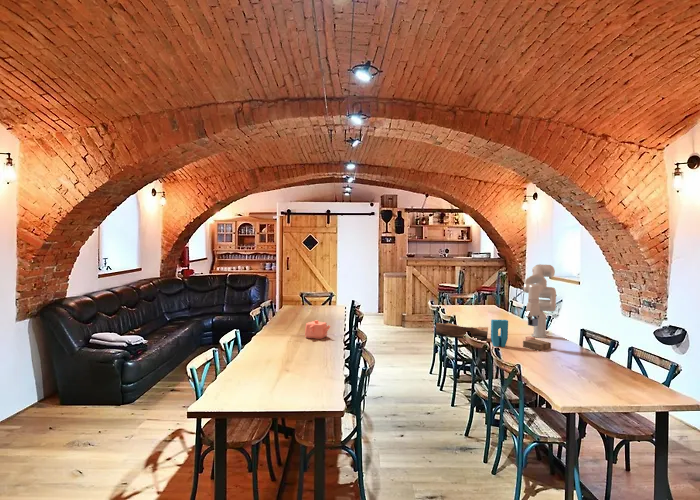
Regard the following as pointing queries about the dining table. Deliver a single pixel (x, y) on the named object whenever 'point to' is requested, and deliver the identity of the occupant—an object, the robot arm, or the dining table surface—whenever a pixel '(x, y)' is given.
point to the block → (503, 336)
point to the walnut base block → (536, 345)
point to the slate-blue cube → (534, 322)
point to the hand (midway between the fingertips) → (532, 324)
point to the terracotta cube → (529, 338)
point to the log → (460, 331)
